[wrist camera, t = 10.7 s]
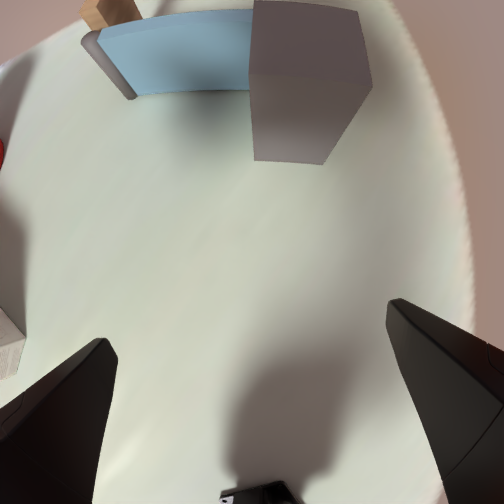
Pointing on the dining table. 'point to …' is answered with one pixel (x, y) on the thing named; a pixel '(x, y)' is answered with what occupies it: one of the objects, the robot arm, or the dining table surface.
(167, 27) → the gate
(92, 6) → the brown wooden block
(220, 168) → the dining table surface
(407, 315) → the robot arm
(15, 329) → the small box
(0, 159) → the canned food
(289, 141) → the block
